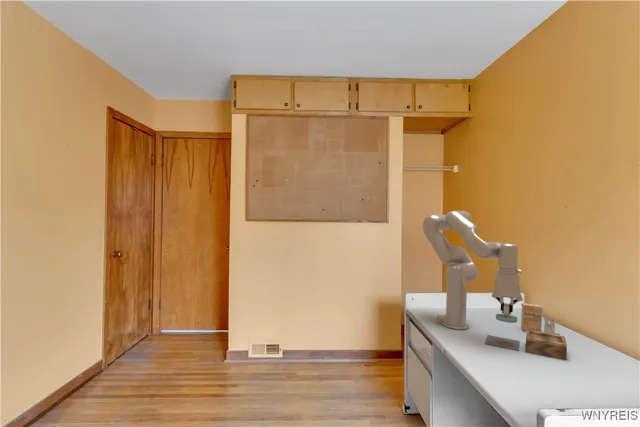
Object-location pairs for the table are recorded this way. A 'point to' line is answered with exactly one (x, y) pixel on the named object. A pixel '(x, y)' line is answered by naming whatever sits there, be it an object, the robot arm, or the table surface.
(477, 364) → the table surface
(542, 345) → the tray
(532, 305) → the supplement box
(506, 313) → the cover
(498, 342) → the mat
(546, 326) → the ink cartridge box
